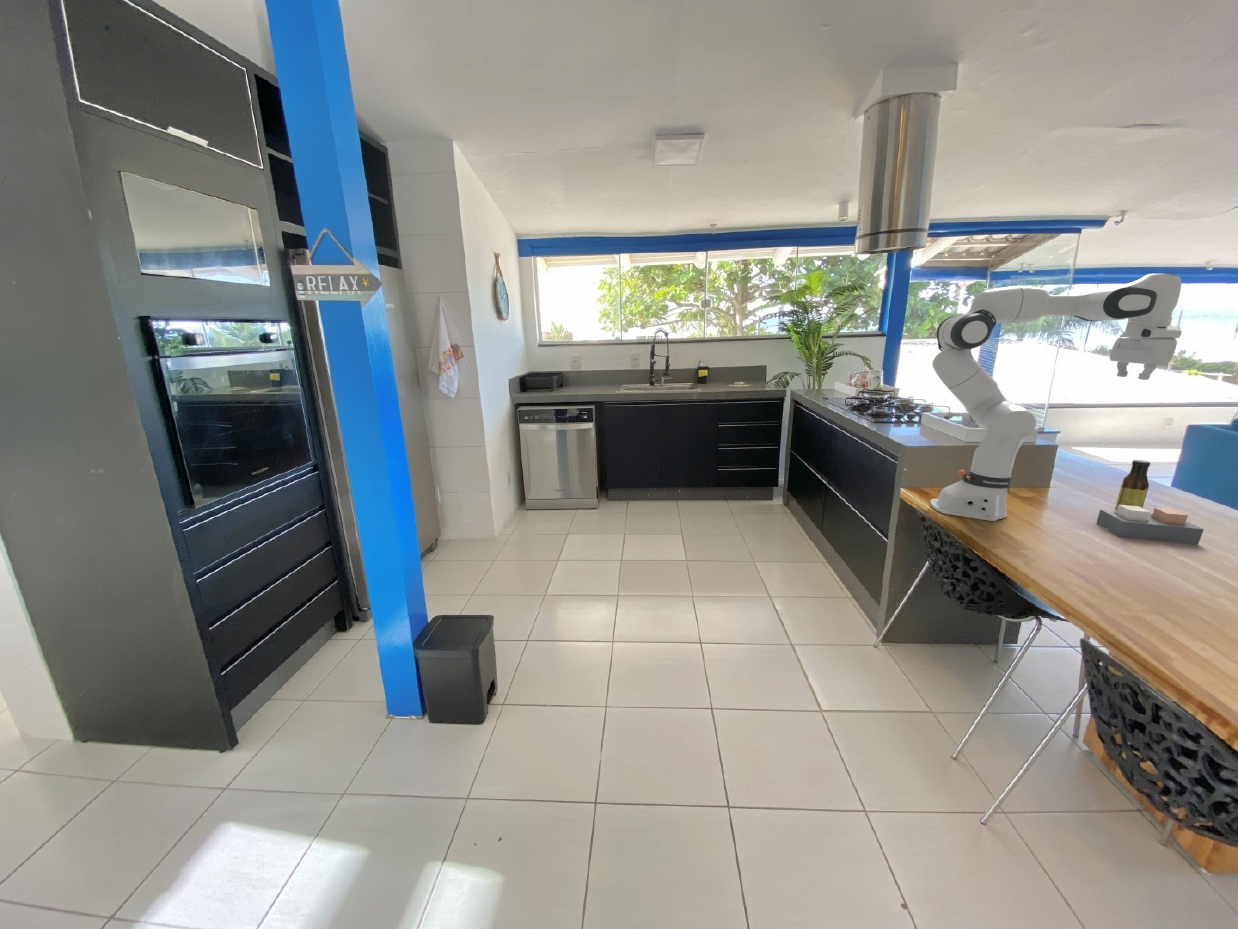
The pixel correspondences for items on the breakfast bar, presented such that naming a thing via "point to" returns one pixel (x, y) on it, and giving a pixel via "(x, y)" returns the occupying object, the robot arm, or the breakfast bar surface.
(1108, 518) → the keypad
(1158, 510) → the terracotta key
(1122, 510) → the cream key
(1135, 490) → the sauce bottle
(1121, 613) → the breakfast bar surface
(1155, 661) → the breakfast bar surface
